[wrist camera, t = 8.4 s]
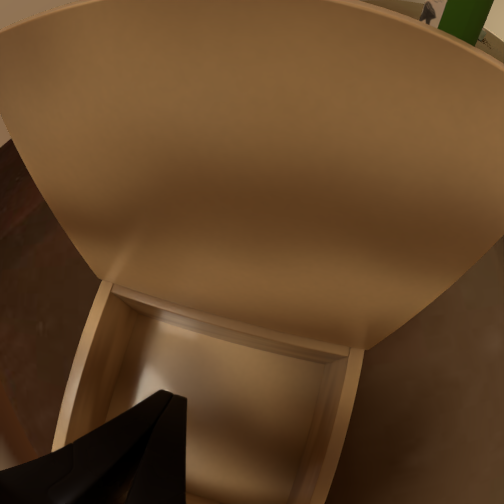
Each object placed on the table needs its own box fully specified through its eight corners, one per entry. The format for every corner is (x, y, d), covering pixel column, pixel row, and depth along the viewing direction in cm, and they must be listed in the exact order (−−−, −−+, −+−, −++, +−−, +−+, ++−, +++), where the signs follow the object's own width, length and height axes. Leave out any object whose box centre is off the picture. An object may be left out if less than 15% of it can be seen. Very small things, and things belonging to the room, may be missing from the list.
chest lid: (583, 131, 3) (503, 50, 5) (-26, 45, 4) (72, -8, 6) (368, 350, 14) (374, 272, 16) (97, 278, 15) (132, 213, 18)
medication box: (481, 42, 53) (487, 33, 49) (474, 36, 53) (479, 28, 49) (476, 31, 57) (481, 23, 53) (470, 26, 57) (474, 18, 54)
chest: (289, 519, 15) (303, 557, 9) (91, 457, 16) (48, 471, 11) (335, 356, 20) (365, 344, 15) (136, 303, 21) (103, 274, 16)
